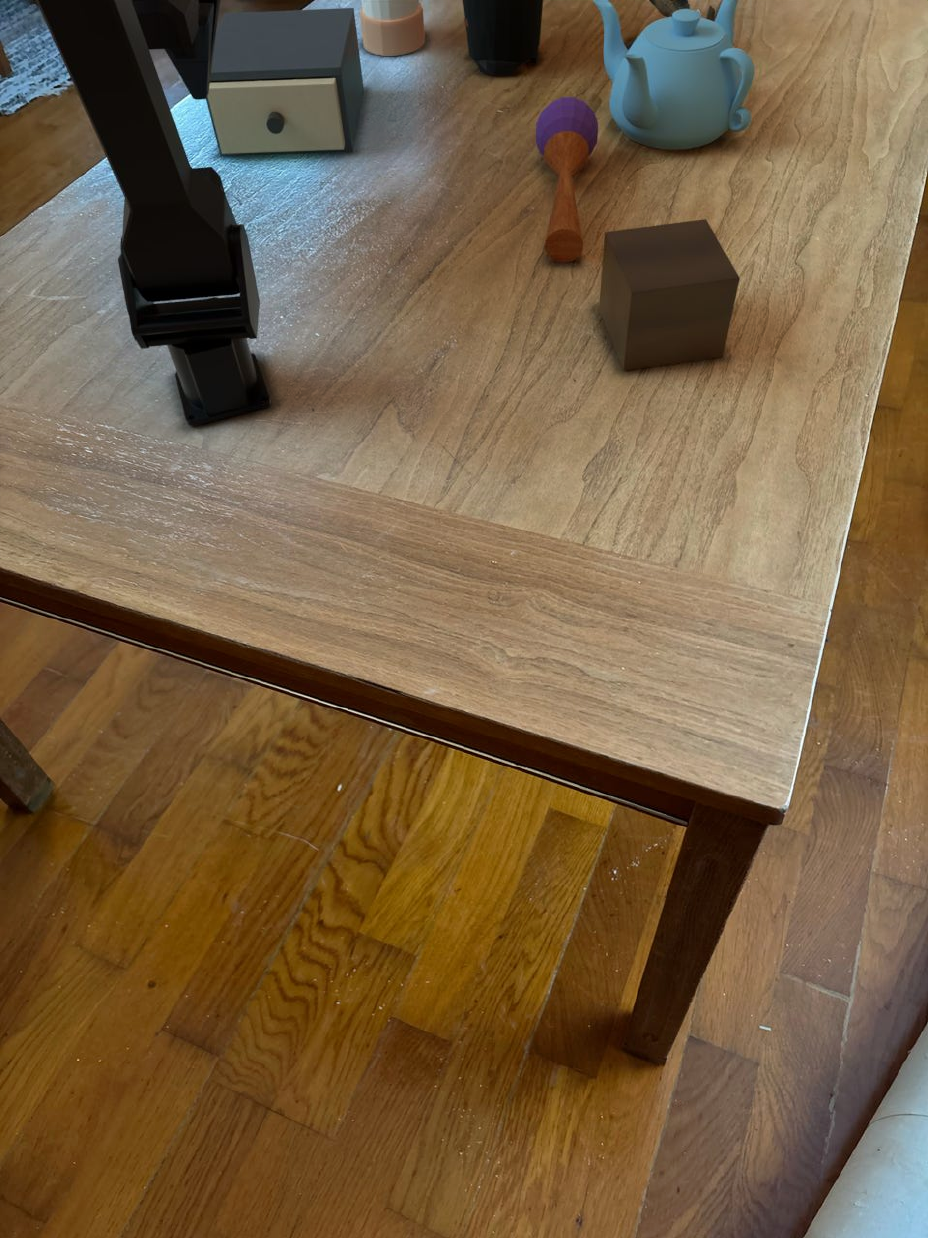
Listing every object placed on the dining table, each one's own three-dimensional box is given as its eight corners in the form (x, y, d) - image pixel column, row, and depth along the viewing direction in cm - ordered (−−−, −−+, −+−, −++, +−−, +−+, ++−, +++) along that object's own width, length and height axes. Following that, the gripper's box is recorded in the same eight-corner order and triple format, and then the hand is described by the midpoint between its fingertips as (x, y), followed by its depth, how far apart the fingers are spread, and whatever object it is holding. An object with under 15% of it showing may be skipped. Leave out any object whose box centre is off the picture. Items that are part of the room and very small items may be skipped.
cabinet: (352, 152, 95) (340, 66, 88) (220, 156, 96) (198, 72, 89) (363, 89, 103) (353, 7, 97) (242, 94, 104) (223, 12, 97)
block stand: (723, 357, 73) (740, 277, 68) (623, 371, 73) (631, 292, 67) (692, 297, 78) (706, 218, 72) (598, 310, 77) (604, 231, 72)
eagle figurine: (720, 24, 106) (647, -3, 107) (729, -21, 99) (651, -49, 100) (691, 86, 106) (618, 58, 107) (698, 45, 99) (620, 16, 100)
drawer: (343, 155, 93) (333, 88, 88) (219, 160, 93) (202, 93, 88) (355, 91, 101) (347, 26, 96) (242, 95, 102) (227, 31, 97)
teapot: (761, 156, 91) (785, 41, 83) (606, 168, 91) (616, 53, 83) (725, 87, 100) (744, -24, 91) (585, 97, 100) (591, -12, 91)
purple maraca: (523, 221, 79) (531, 90, 89) (535, 279, 84) (542, 149, 94) (594, 209, 77) (594, 78, 88) (602, 269, 82) (601, 138, 93)
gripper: (59, -181, 69) (130, 49, 81) (-26, -91, 58) (71, 160, 70) (208, -189, 68) (256, 44, 81) (152, -100, 57) (218, 155, 70)
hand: (201, 97), depth 75 cm, fingers closed
